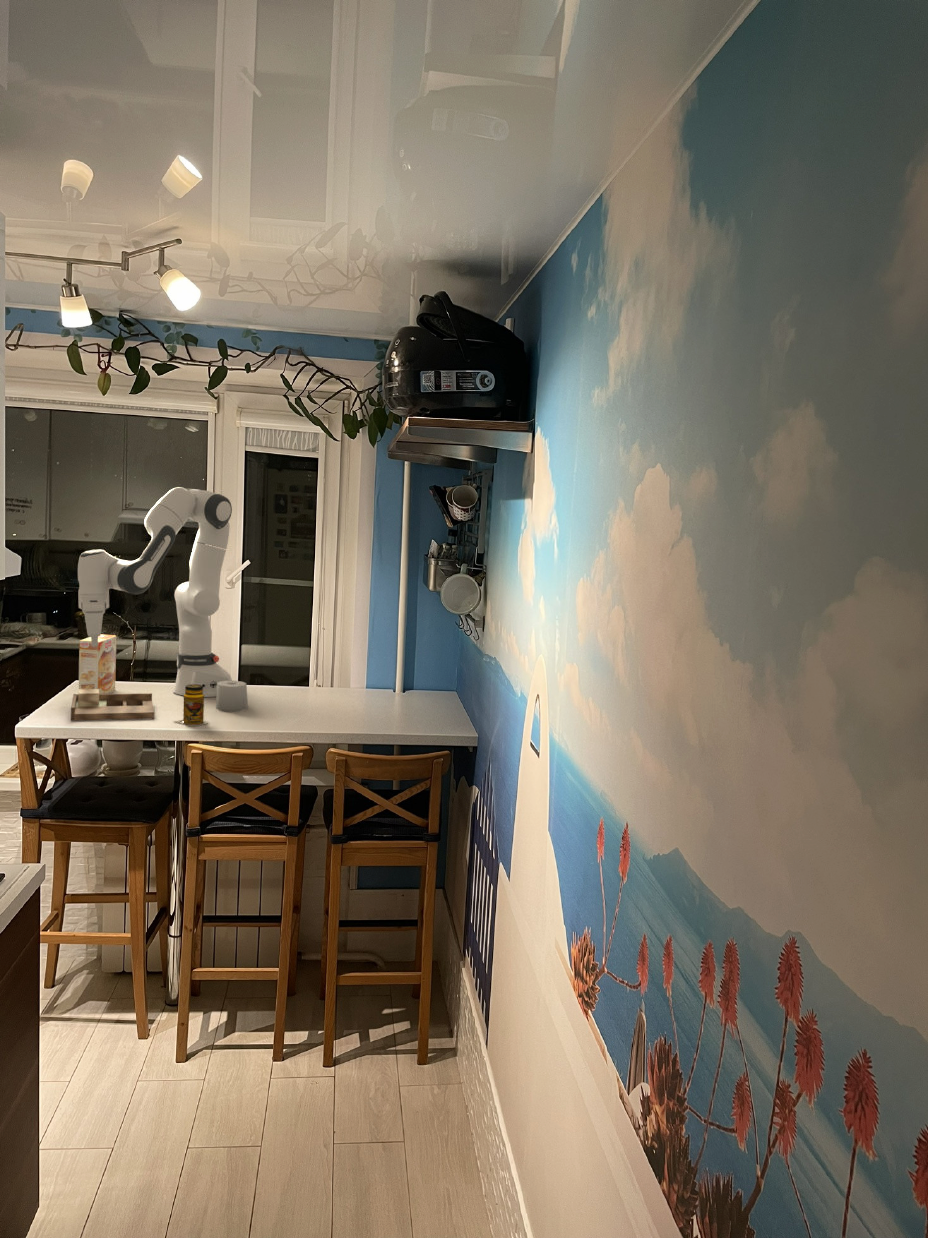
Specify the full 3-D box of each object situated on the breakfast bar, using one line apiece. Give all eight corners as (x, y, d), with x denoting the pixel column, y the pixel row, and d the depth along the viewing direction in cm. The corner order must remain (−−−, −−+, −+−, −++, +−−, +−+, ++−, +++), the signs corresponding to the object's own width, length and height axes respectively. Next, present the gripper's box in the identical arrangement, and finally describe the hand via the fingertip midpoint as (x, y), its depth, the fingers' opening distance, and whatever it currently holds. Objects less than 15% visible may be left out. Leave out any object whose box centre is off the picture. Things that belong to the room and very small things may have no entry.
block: (99, 701, 295) (99, 689, 295) (98, 705, 290) (98, 693, 289) (78, 701, 293) (79, 689, 293) (78, 705, 288) (78, 693, 287)
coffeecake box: (98, 699, 306) (99, 641, 303) (77, 697, 306) (78, 640, 304) (116, 689, 321) (117, 635, 318) (96, 688, 321) (97, 633, 318)
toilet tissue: (251, 704, 314) (252, 679, 312) (239, 713, 300) (240, 687, 299) (226, 701, 314) (226, 677, 313) (212, 710, 301) (213, 685, 300)
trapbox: (151, 704, 303) (151, 693, 303) (153, 718, 286) (154, 706, 286) (73, 706, 294) (73, 694, 294) (70, 720, 278) (71, 707, 277)
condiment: (191, 727, 280) (192, 689, 278) (173, 722, 284) (174, 684, 283) (210, 723, 286) (211, 685, 284) (192, 718, 290) (193, 681, 289)
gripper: (83, 597, 292) (84, 640, 294) (82, 607, 274) (83, 652, 276) (104, 597, 295) (105, 639, 297) (104, 606, 276) (105, 651, 278)
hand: (94, 645), depth 286 cm, fingers closed
